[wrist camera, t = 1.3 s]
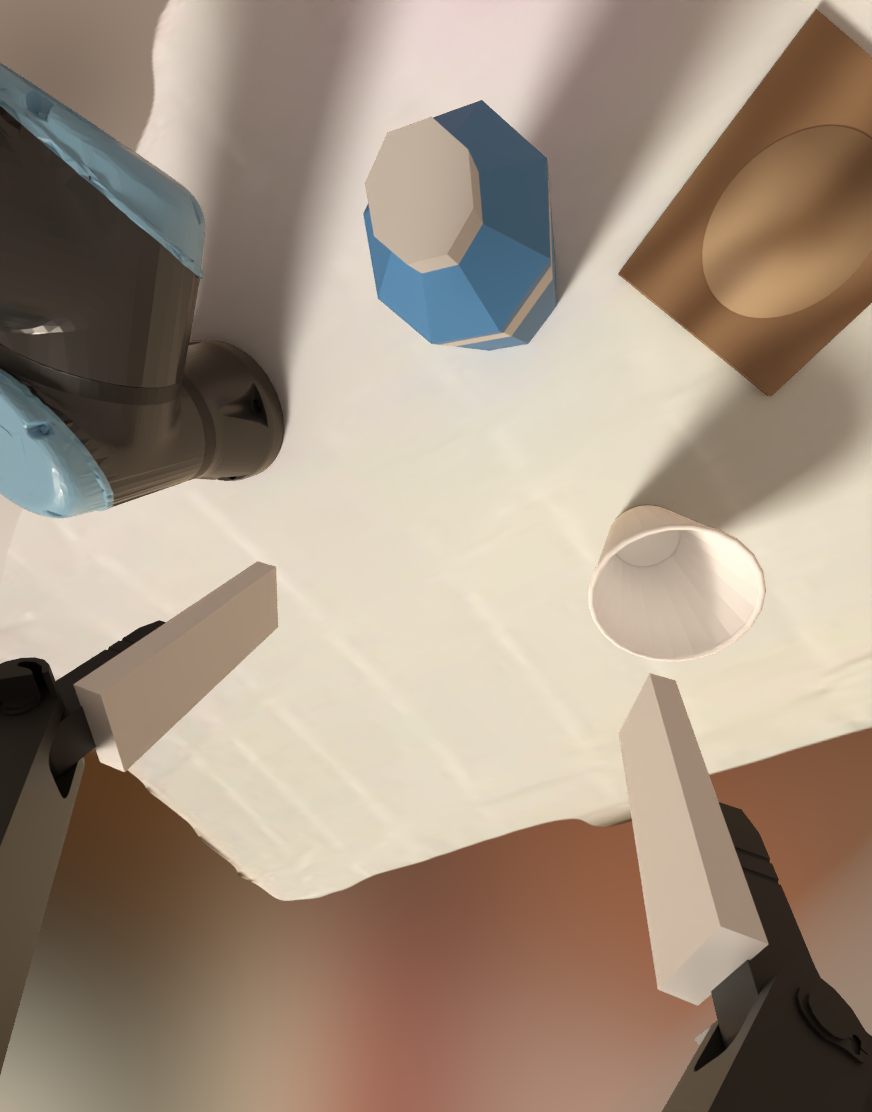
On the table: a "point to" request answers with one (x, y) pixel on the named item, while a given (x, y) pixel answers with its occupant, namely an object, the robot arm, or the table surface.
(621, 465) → the table surface
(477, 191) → the water bottle
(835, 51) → the plate
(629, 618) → the cup
